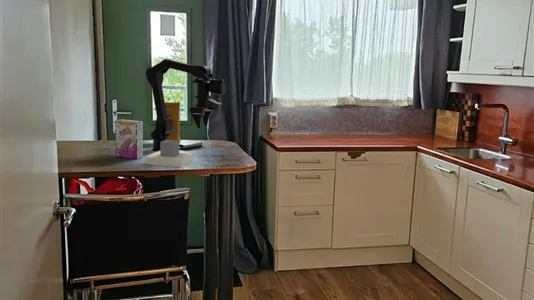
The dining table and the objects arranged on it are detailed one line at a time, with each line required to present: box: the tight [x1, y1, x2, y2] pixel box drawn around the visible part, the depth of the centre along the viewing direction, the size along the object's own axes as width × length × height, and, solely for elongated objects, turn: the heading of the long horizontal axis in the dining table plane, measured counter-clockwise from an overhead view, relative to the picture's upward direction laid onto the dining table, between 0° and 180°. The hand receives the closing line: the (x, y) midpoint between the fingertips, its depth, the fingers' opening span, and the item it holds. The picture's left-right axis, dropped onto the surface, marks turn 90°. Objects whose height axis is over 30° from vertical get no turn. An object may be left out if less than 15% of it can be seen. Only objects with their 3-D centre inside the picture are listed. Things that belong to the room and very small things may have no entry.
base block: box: [144, 151, 194, 168], centre depth 201 cm, size 16×14×3 cm
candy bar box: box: [114, 118, 144, 160], centre depth 206 cm, size 11×5×16 cm, turn 71°
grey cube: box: [160, 140, 180, 157], centre depth 200 cm, size 6×6×6 cm
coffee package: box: [165, 101, 181, 144], centre depth 240 cm, size 10×12×22 cm
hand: (202, 127), depth 218 cm, fingers open, 9 cm apart
